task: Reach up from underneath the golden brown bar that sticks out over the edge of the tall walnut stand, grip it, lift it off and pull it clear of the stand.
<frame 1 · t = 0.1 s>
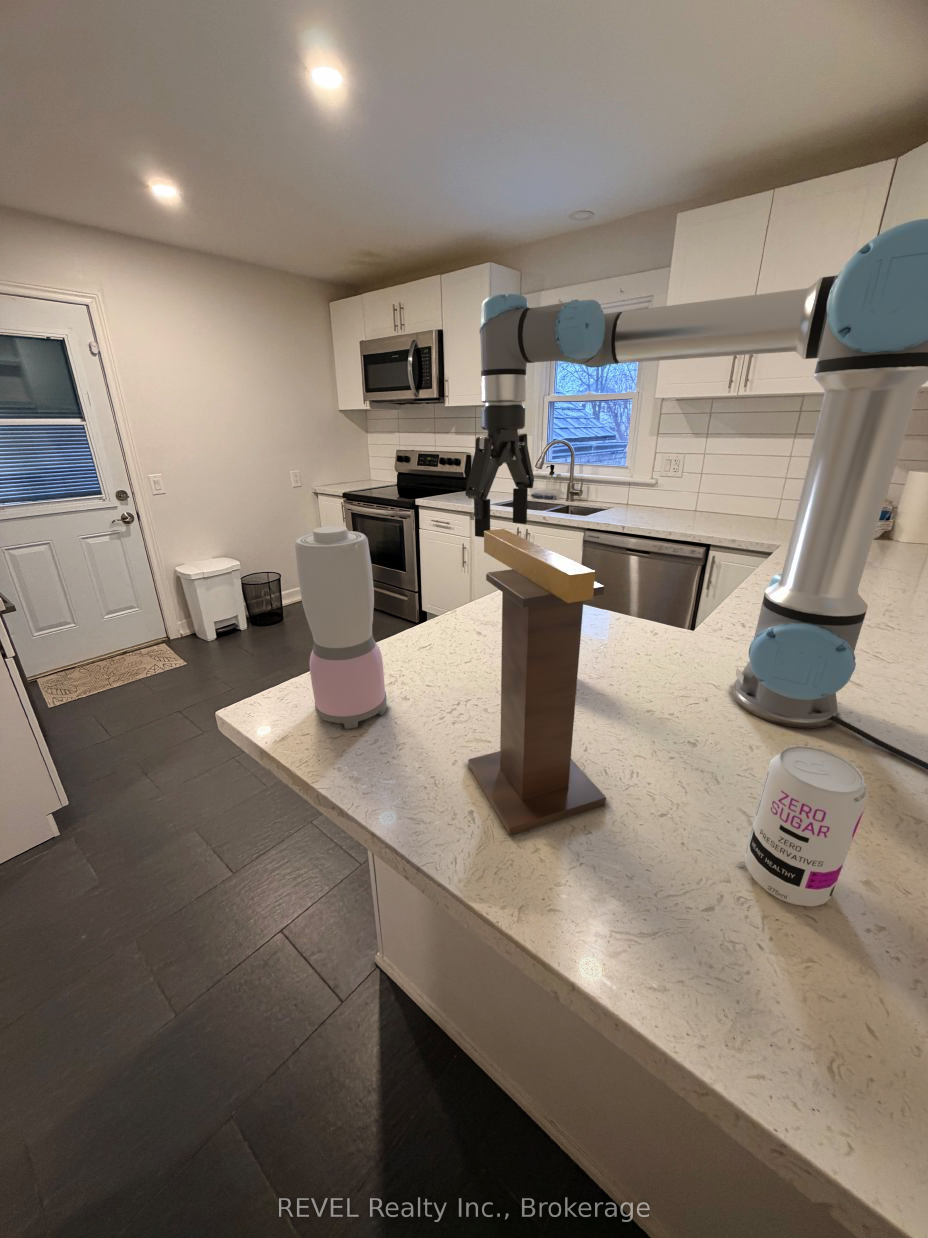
hand: (502, 529, 91), 28 cm above the countertop, tool pointing down, fingers open, 13 cm apart
blender: (347, 706, 88), on the countertop
brown pedestal stand: (533, 784, 69), on the countertop
golden brown bar: (530, 572, 60), point 30 cm above the countertop, touching brown pedestal stand
supplement can: (784, 878, 55), on the countertop
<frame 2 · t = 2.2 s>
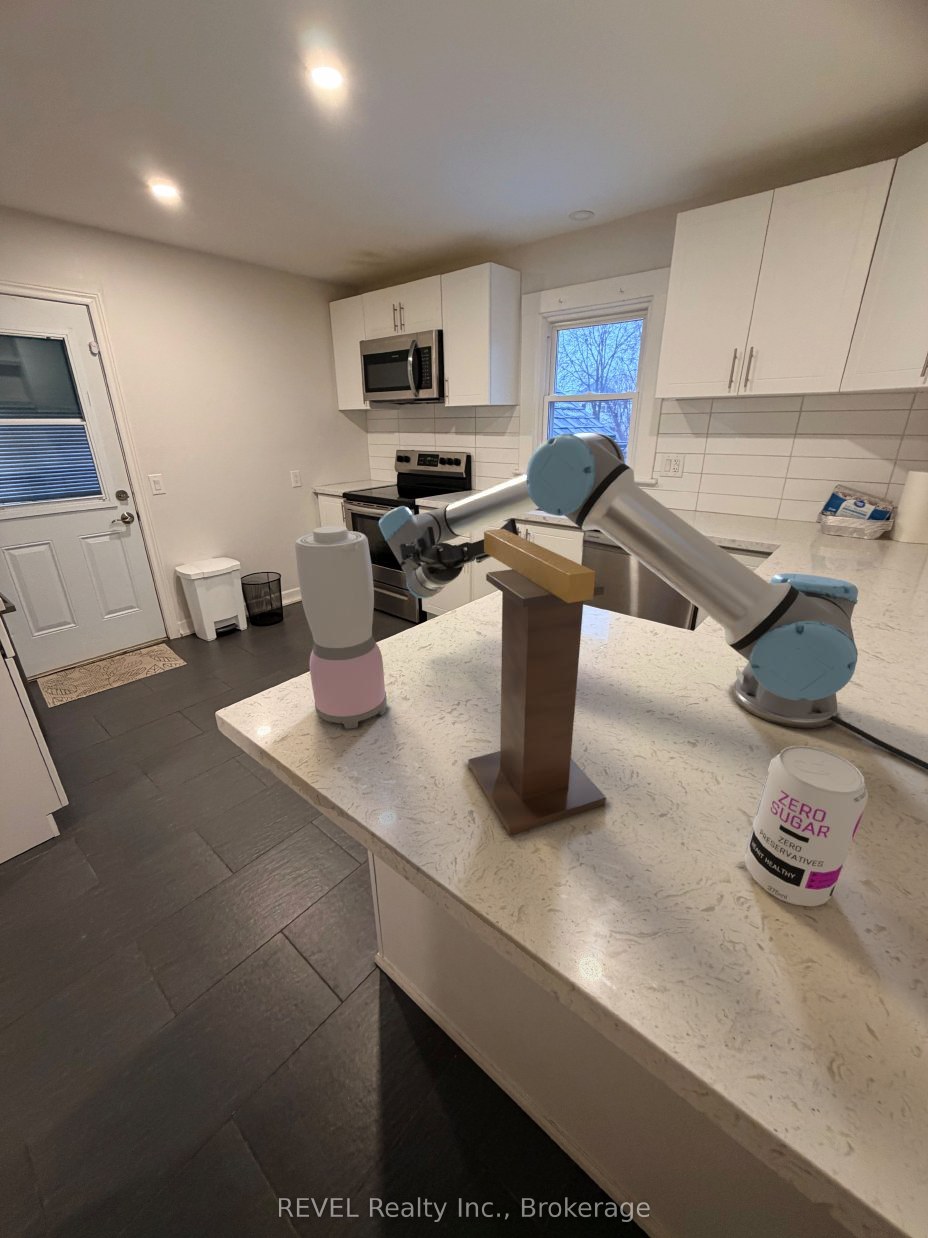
hand: (474, 531, 75), 31 cm above the countertop, tool pointing upward, fingers open, 13 cm apart
nothing on the countertop moved.
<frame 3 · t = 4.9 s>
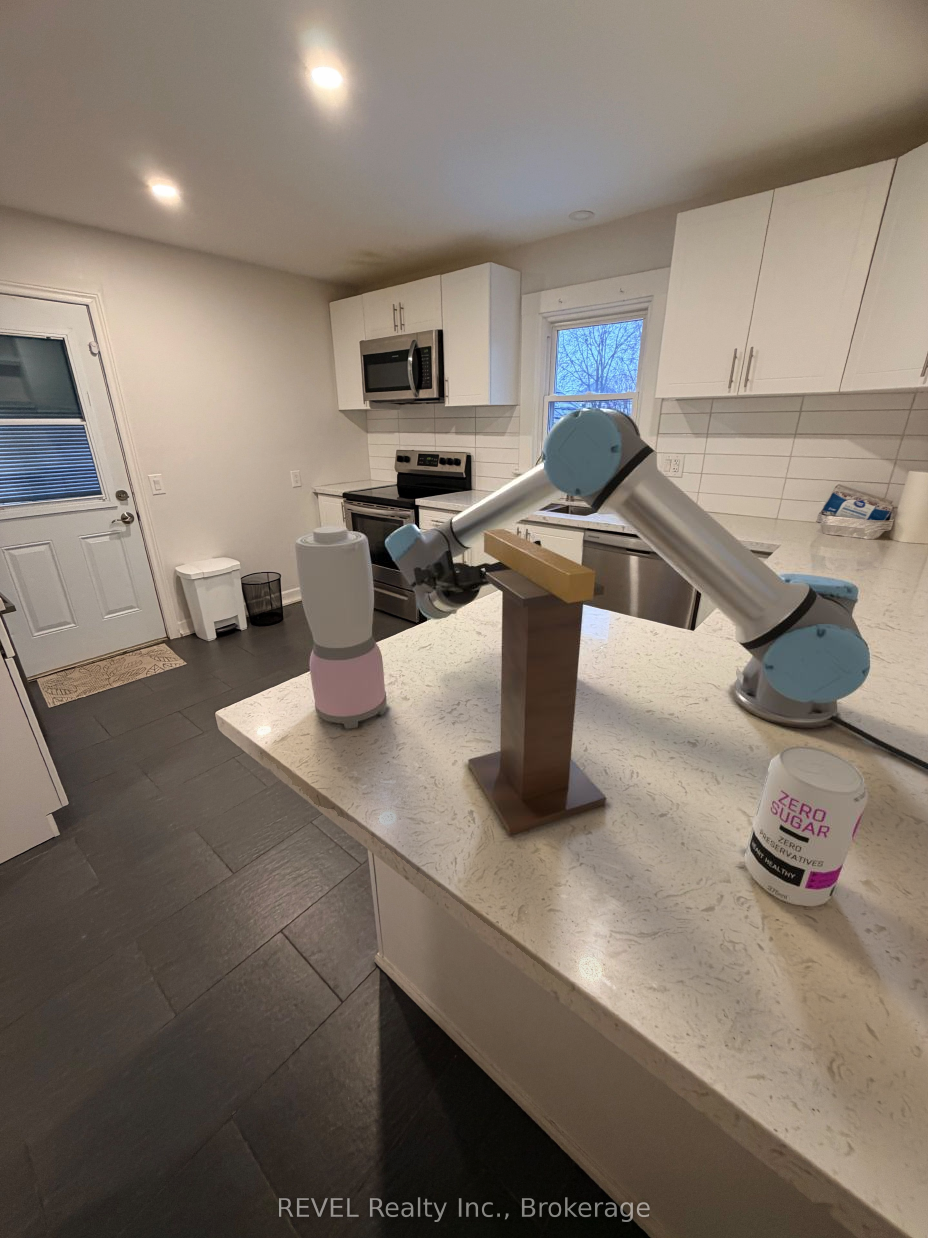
hand: (496, 554, 69), 30 cm above the countertop, tool pointing upward, fingers open, 13 cm apart
nothing on the countertop moved.
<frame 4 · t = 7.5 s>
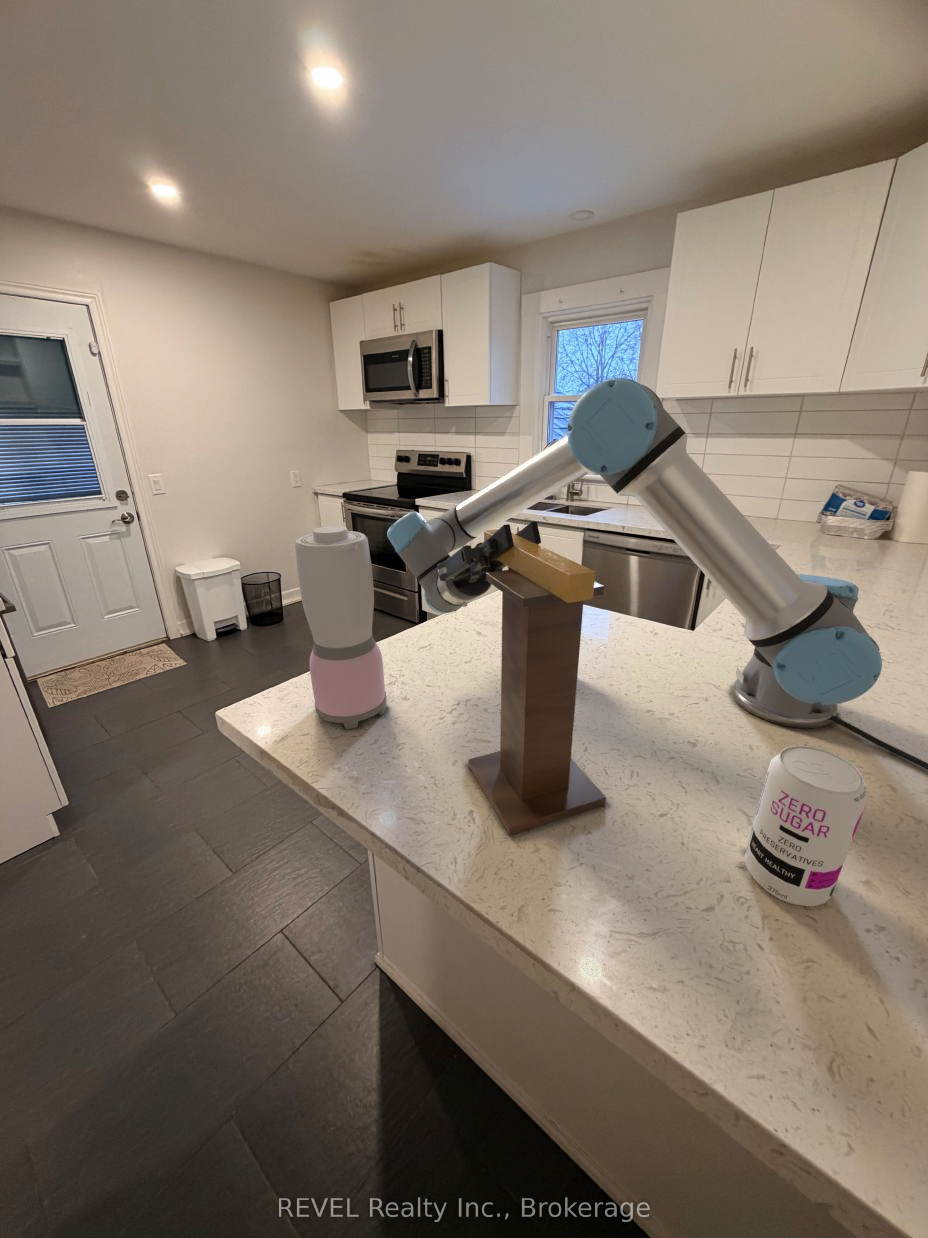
hand: (522, 533, 60), 34 cm above the countertop, tool pointing upward, fingers closed on golden brown bar, 3 cm apart
golden brown bar: (530, 572, 60), point 30 cm above the countertop, touching gripper, brown pedestal stand
everything else where it was.
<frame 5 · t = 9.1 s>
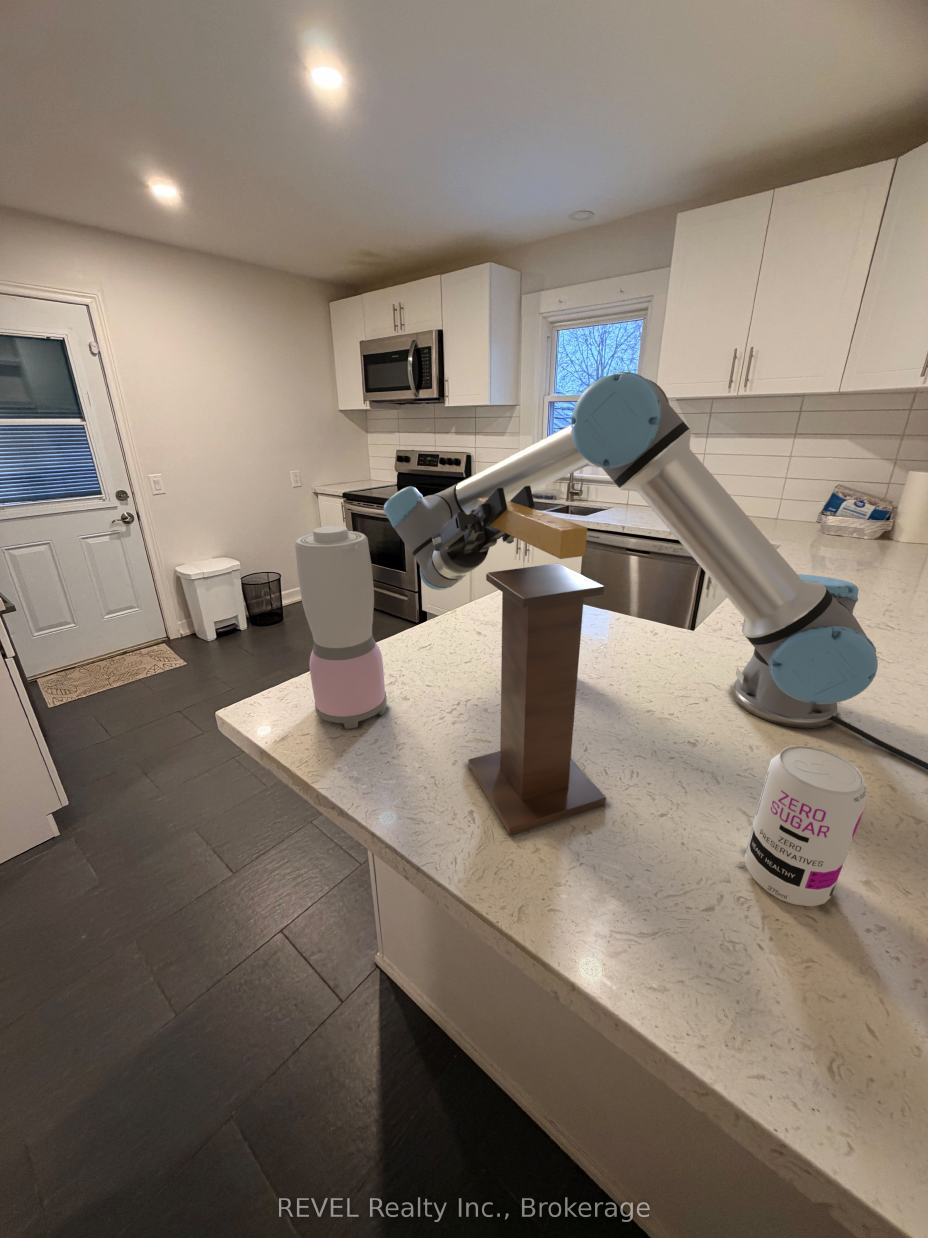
hand: (516, 497, 61), 38 cm above the countertop, tool pointing upward, fingers closed on golden brown bar, 3 cm apart
golden brown bar: (523, 535, 60), point 34 cm above the countertop, touching gripper
everything else where it was.
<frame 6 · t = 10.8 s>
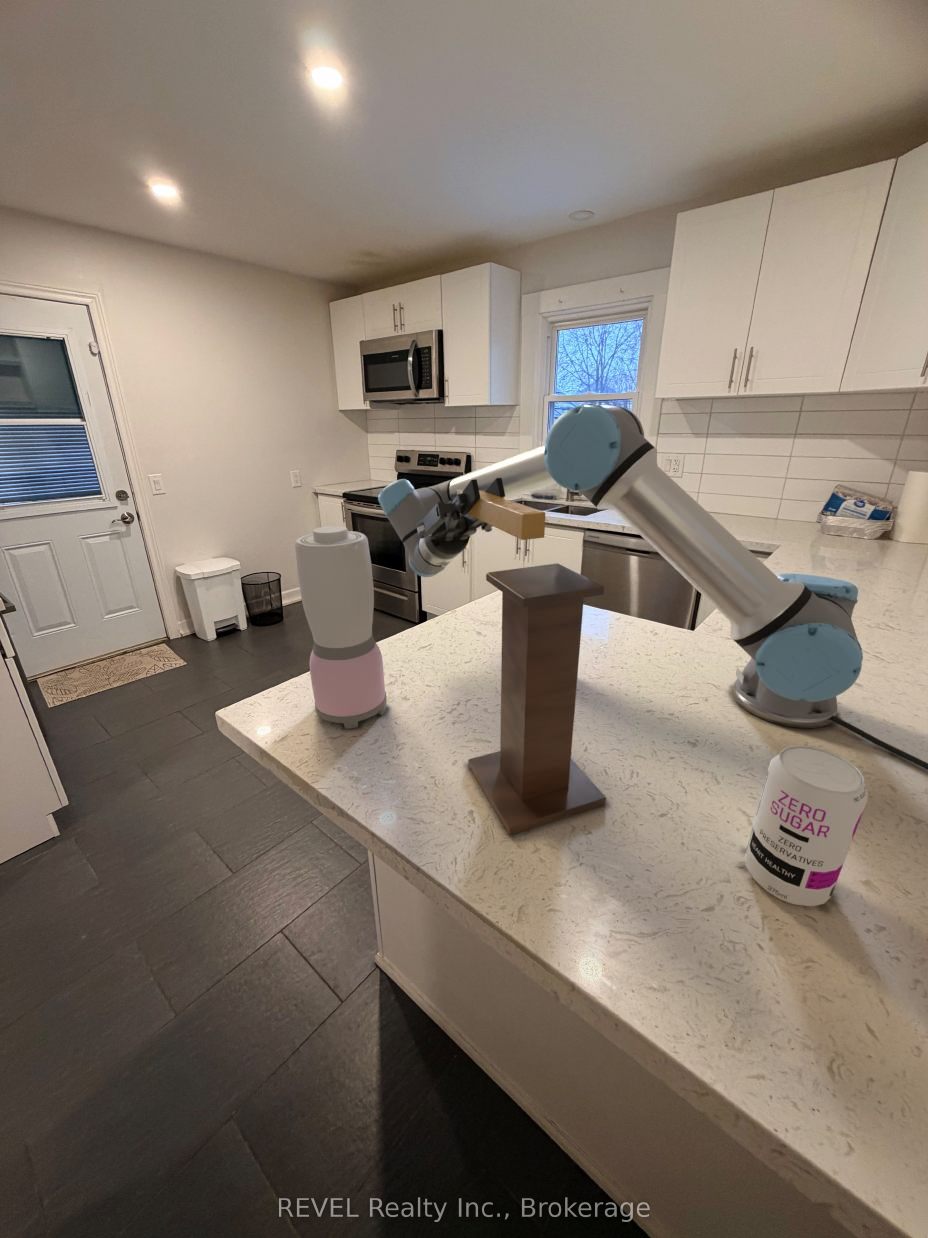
hand: (488, 487, 68), 38 cm above the countertop, tool pointing upward, fingers closed on golden brown bar, 3 cm apart
golden brown bar: (495, 521, 68), point 34 cm above the countertop, touching gripper
everything else where it was.
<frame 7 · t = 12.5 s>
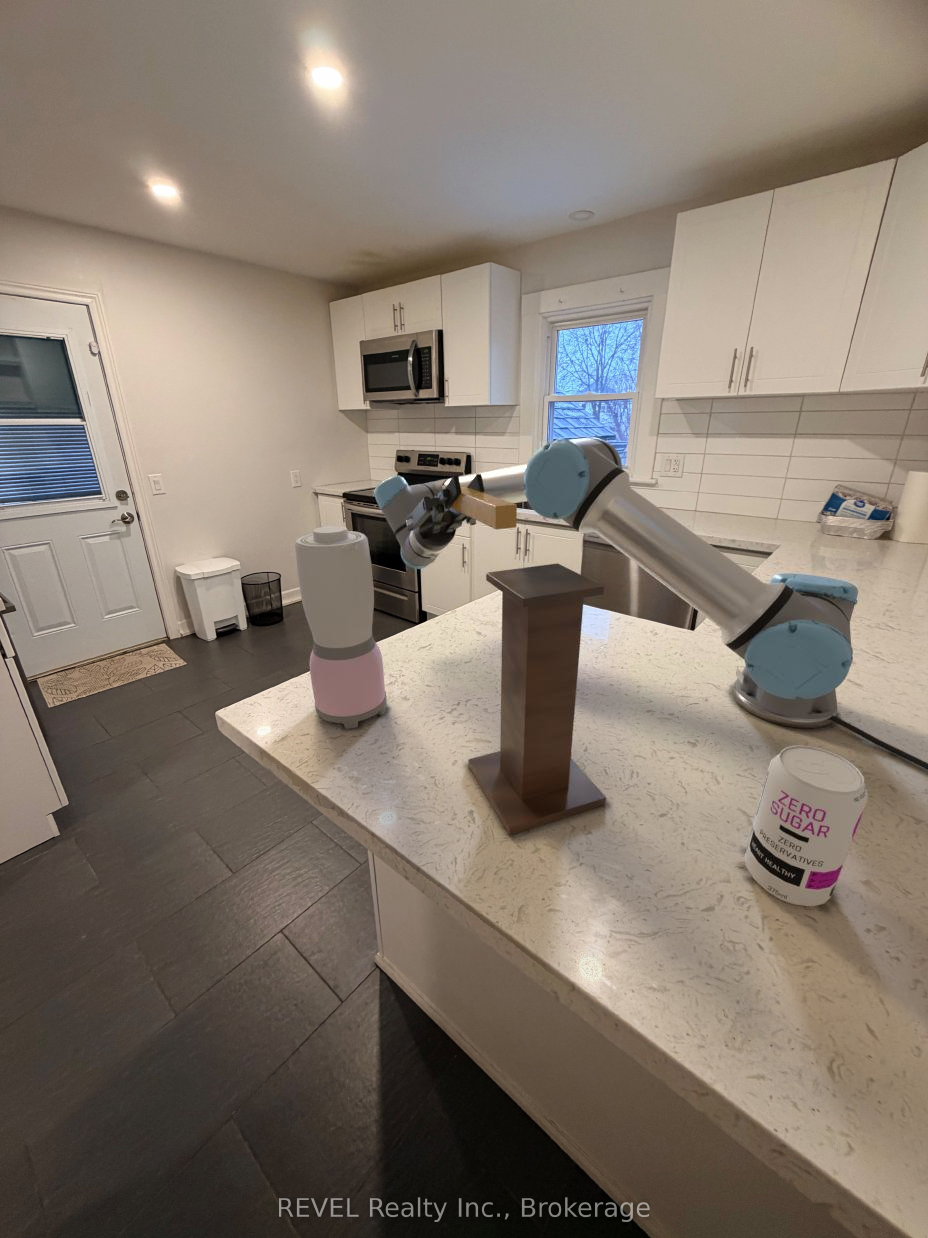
hand: (469, 483, 74), 38 cm above the countertop, tool pointing upward, fingers closed on golden brown bar, 3 cm apart
golden brown bar: (474, 514, 74), point 34 cm above the countertop, touching gripper
everything else where it was.
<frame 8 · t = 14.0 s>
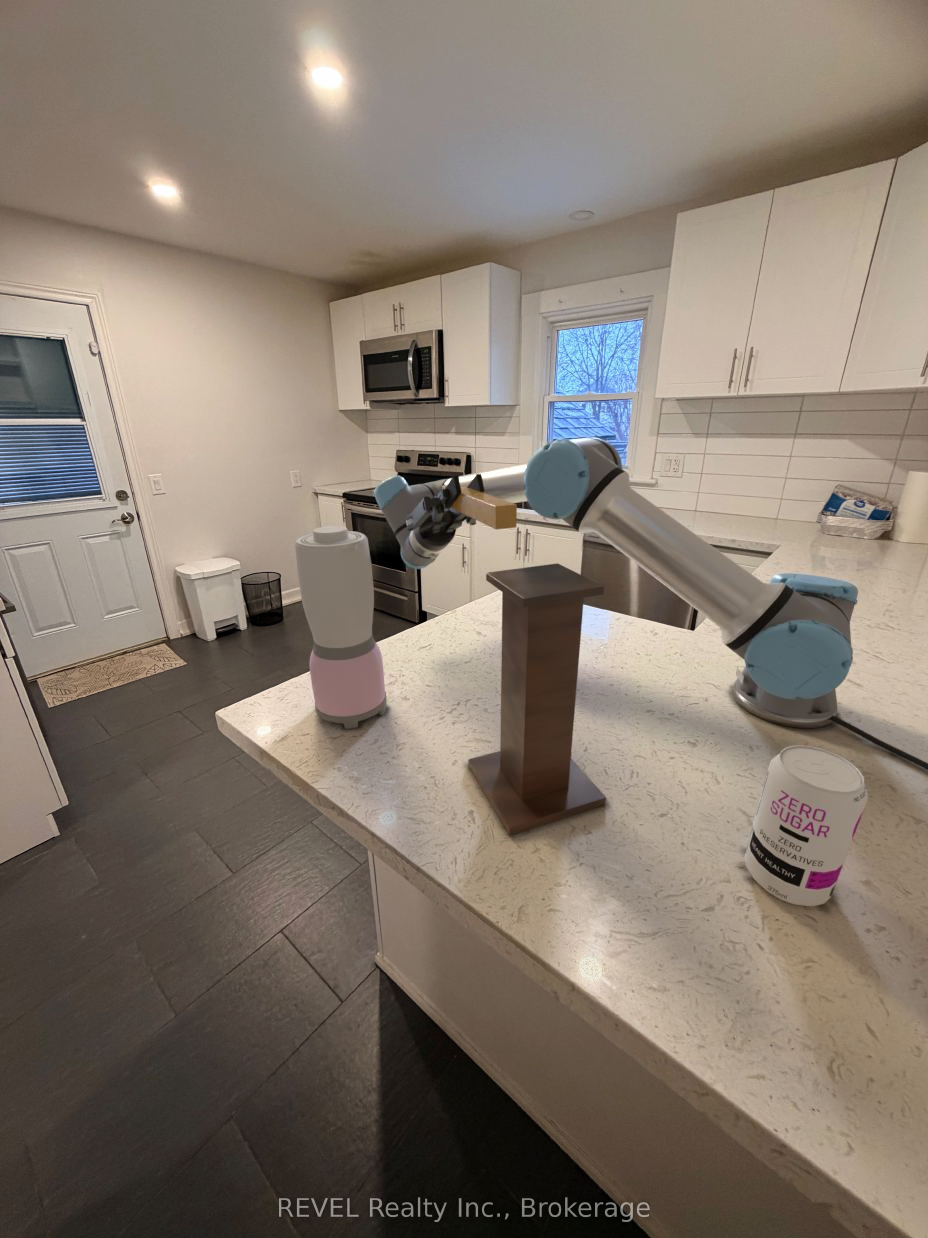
hand: (469, 483, 74), 38 cm above the countertop, tool pointing upward, fingers closed on golden brown bar, 3 cm apart
golden brown bar: (474, 514, 74), point 34 cm above the countertop, touching gripper
everything else where it was.
at the end: the gripper is holding golden brown bar; golden brown bar moved 18.4 cm from its start; golden brown bar touching gripper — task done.
